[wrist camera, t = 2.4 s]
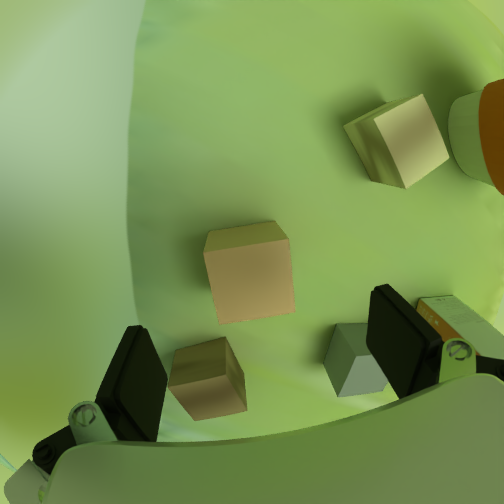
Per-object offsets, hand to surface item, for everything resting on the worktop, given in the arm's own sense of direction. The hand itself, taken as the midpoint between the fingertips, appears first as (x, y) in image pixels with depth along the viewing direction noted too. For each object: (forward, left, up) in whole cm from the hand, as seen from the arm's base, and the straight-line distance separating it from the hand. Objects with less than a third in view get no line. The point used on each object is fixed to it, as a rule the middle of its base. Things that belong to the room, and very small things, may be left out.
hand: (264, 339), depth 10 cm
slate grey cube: (-12, -9, -11) cm, 18 cm away
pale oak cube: (+7, -12, -11) cm, 18 cm away
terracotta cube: (-1, 0, -11) cm, 11 cm away
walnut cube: (-11, +5, -11) cm, 16 cm away
